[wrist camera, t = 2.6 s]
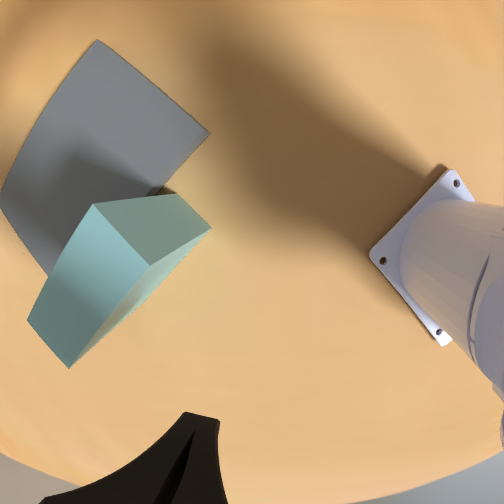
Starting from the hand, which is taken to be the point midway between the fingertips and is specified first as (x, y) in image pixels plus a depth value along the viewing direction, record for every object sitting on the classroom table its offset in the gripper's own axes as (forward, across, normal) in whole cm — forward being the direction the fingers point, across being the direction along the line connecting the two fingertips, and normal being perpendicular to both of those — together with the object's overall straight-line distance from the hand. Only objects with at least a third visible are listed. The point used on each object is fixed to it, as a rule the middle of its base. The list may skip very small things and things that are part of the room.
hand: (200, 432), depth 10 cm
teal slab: (+10, +6, -4) cm, 12 cm away
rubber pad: (+10, +12, -9) cm, 18 cm away
